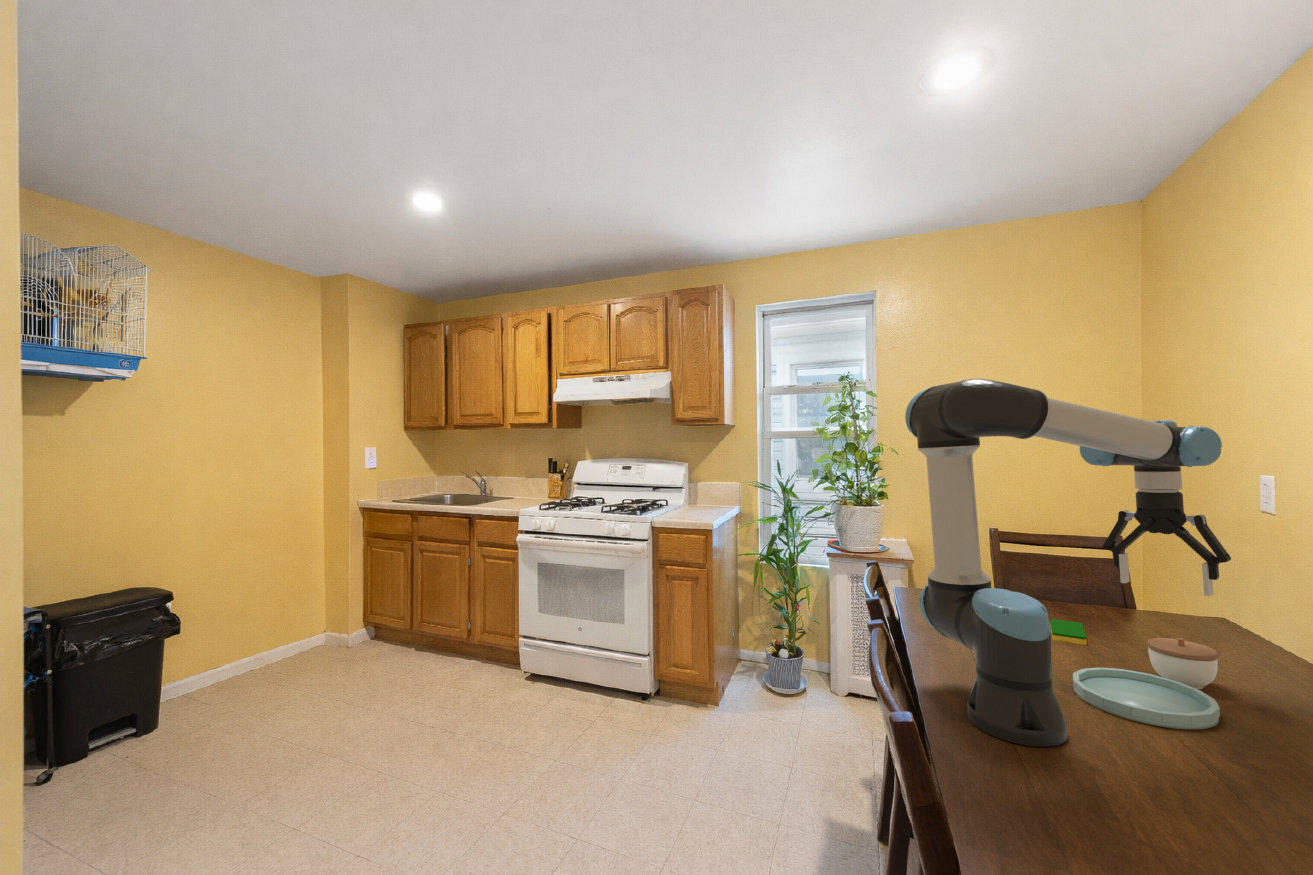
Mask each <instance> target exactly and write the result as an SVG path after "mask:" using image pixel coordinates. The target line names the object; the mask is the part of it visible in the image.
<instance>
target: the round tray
mask: <svg viewBox="0 0 1313 875" xmlns="http://www.w3.org/2000/svg"><path fill="white" fill-rule="evenodd" d="M1072 687H1073V692H1074V693H1075V694H1076V695H1077V697H1078V698H1080V699H1081V700H1083V701H1084V702H1085V703H1087V704H1089V705H1091V706H1093V707H1094V708H1097V709H1099V710H1101V711H1104V712H1106V713H1109V714H1110V715H1114V716H1117V717H1119V718H1123V719H1127V720H1130V721H1134V722H1138V723H1142V724H1146V725H1150V726H1151V725H1152V726H1155V727H1162V728H1167V729H1177V730H1190V731H1191V730H1205V729H1210V728H1214V727H1216V726H1217V725H1218V724H1219V723H1220V717H1221V709H1220V706H1219V704H1218V703H1217V701H1216V699H1215V698H1213V697H1211V696H1210V695H1208V694H1206V693H1205V692H1203V691H1202V690H1201V689H1195V688H1193V687H1190V686H1188V685H1185V684H1182V683H1180V682H1177V681H1174V680H1170V679H1167V678H1163V677H1161V676H1160V675H1156V674H1152V673H1148V672H1147V673H1146V672H1142V671H1140V672H1139V671H1136V670H1131V669H1124V668H1114V667H1112V668H1111V667H1109V668H1108V667H1089V668H1081V669H1079V670H1076V671H1074V672H1073V673H1072Z"/></svg>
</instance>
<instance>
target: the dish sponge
mask: <svg viewBox="0 0 1313 875" xmlns="http://www.w3.org/2000/svg"><path fill="white" fill-rule="evenodd" d="M1049 624H1050V627H1051V641H1056V642H1063V643H1070V644H1077V645H1084V646H1086V645H1087V644H1088V643H1087V635H1086V631H1085V628H1084V625H1083V623H1082V622H1077V621H1069V620H1062V619H1055V618H1051V619H1050V621H1049Z"/></svg>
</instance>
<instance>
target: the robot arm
mask: <svg viewBox="0 0 1313 875" xmlns="http://www.w3.org/2000/svg"><path fill="white" fill-rule="evenodd" d="M904 415H905V416H904V419H905V424H906V427H907V430H908V431H909V432H910V433H911V434H912V435H913V437H914V438H916V440H917V450H918V451H919V452H920V453H921V454H923V455H924V456H925V457H926V467H927V481H928V496H929V507H930V519H931V520H930V521H931V522H930V523H931V533H932V534H931V535H932V543H933V544H932V546H933V548H932V549H933V560H934V561H933V562H934V568H932V570H930V572H928V573H927V582H926V584H925V585H924V588H923V589H921V591H920V593H919V598H918V599H919V603H918V605H919V609H920V613H921V615H922V617H923V618H924V621H925V622H926V623H927V624H928V625H929V627H931V628H932V629H934V630H935V631H936V632H937V633H939V634H940V635H942V636H944V637H945V638H948V639H950V640H953V641H954V642H957V644H960V645H962V646H964V647H966V648H968V649H970V650H972V651H974V652H975V654H974V655H975V670H976V671H975V672H976V673H975V675H976V676H975V679H974V682H973V685H972V688H971V691H970V693H969V696H968V700H967V703H966V704H967V705H966V707H967V708H966V709H967V710H966V711H967V718H968V720H969V721H970V723H971V724H972V725H974V726H975V727H976V728H977V729H979V730H980V731H981V732H984V733H986V734H988V735H990V736H993V737H994V738H998V739H999V740H1003V741H1006V742H1009V743H1014V744H1016V745H1023V746H1030V747H1038V748H1039V747H1040V748H1046V747H1047V748H1049V747H1050V748H1051V747H1057V746H1060V745H1062V744H1064V743H1066V741H1067V740H1068V725H1067V721H1066V718H1065V717H1064V714H1063V712H1062V710H1061V706H1060V704H1059V701H1058V699H1057V697H1056V694H1055V691H1054V689H1053V670H1052V669H1053V667H1052V664H1053V663H1052V634H1051V624H1050V621H1049V613H1048V610H1047V608H1046V607H1045V604H1043V603H1041V601H1039V600H1038V599H1036V598H1034V597H1032V596H1030V595H1027V594H1026V593H1022V592H1018V591H1011V590H1009V589H1004V588H996V587H995V588H992V579H991V576H989V575H988V574H987V573H986V571H983V570H982V561H981V548H980V546H981V545H980V535H979V525H978V524H979V523H978V521H979V520H978V512H977V510H978V509H977V499H976V487H975V486H976V485H975V484H976V483H975V475H974V474H975V473H974V462H973V461H974V460H973V456H974V453H976V451H977V450H978V449H979V448H980V447H981V442H980V439H981V438H984V437H985V438H987V437H990V438H991V437H1007V438H1008V437H1010V438H1015V439H1020V440H1027V439H1031V438H1033V437H1036V438H1040V439H1046V440H1050V441H1051V440H1052V441H1056V442H1060V443H1064V444H1070V445H1075V446H1079V454H1080V456H1081V458H1082V459H1083V461H1084V462H1086V463H1087V464H1088V465H1092V466H1102V467H1108V466H1133V472H1134V473H1133V475H1134V487H1135V489H1136V490H1137V491H1136V492H1135V504H1136V507H1135V508H1136V511H1135V512H1133V511H1129V510H1120V511H1119V512H1117V513H1118V515H1117V516H1118V517H1117V521H1116V523H1115V525H1114V526H1113V528H1112V530H1111V531H1110V533H1109V535H1108V536H1107V538H1106V540H1105V542H1104V544H1103V545H1102V548H1103V549H1104V550H1108V551H1110V552H1112V553H1113V554H1112V555H1113V563H1114V567H1115V568H1119V577H1120V578H1119V579H1120V582H1119V583H1121V584H1127V583H1129V582H1130V581H1131V580H1130V573H1129V572H1130V569H1129V568H1130V567H1129V553H1128V552H1125V550H1126V549H1128V548H1129V547H1130V546H1131V545H1132V544H1133V543H1134V542H1135V541H1137V540H1138V539H1139V538H1141V536H1142V535H1144V534H1145V533H1146V532H1149V533H1150V534H1159V533H1160V534H1163V535H1172V534H1175V536H1176V537H1178V538H1179V539H1180V540H1182V541H1183V542H1184V543H1185V544H1186V545H1187V546H1189V548H1191V549H1192V550H1193V551H1194V552H1195V553H1196V554H1198V555H1199V557H1201V558H1202V559H1203V560H1204V561H1205V562H1202V564H1201V571H1202V584H1203V586H1202V587H1203V596H1205V597H1211V596H1212V595H1214V582H1213V581H1217V580H1218V579H1219V578H1220V569H1219V564H1222V563H1227V562H1230V561H1231V560H1232V557H1231V555H1230V554H1229V553H1228V551H1227V550H1226V549H1225V547H1224V546H1223V545H1222V543H1221V541H1220V540H1219V539H1218V538H1217V536H1216V535H1215V534H1214V532H1213V530H1212V529H1210V527H1209V526H1208V522H1207V518H1206V515H1204V514H1196V515H1186V514H1185V510H1184V509H1185V508H1184V507H1185V506H1184V494H1183V493H1182V492H1181V490H1182V489H1183V479H1182V478H1183V477H1182V468H1181V467H1187V468H1192V467H1205V466H1206V467H1207V466H1210V465H1212V464H1213V463H1215V462H1216V461H1217V460H1219V458H1220V456H1221V453H1222V447H1223V443H1222V439H1221V437H1220V435H1219V434H1218V433H1217V432H1216V431H1215V430H1214V429H1212V428H1210V427H1207V426H1195V425H1188V426H1178V424H1177V422H1176V421H1175V420H1171V419H1169V420H1167V419H1165V420H1164V419H1163V420H1146V419H1143V418H1139V417H1135V416H1134V417H1133V416H1130V415H1129V416H1128V415H1125V414H1120V413H1115V412H1112V411H1109V410H1108V411H1107V410H1103V409H1098V408H1094V407H1089V406H1084V405H1080V404H1076V403H1071V402H1067V401H1064V400H1063V401H1062V400H1059V399H1053V398H1050V397H1048V396H1047V395H1046V393H1044V392H1043V391H1041V390H1039V389H1034V388H1030V387H1027V386H1026V387H1025V386H1021V385H1017V384H1012V383H1009V382H1005V381H1004V382H1003V381H1000V380H999V381H998V380H994V379H993V380H992V379H986V378H969V379H968V378H967V379H963V380H960V381H955V382H950V383H945V384H939V385H934V386H931V387H928V388H927V389H923V390H922V391H919V392H917V394H915V395H914V396H913V397H912V398H911V399H910V401H909V403H908V405H907V406H906V409H905V414H904ZM1179 490H1180V491H1179ZM1133 518H1134V519H1135V520H1136V522H1138V523H1139V525H1137V527H1136V528H1135V529H1134V530H1132V531H1131V532H1130V533H1129V534H1128V535H1127V536H1126V537H1125V538H1124V539H1122V540H1121V541H1120V542H1119V543H1117V542H1118V540H1119V538H1120V536H1121V535H1122V533H1123V532H1124V530H1125V529H1126V526H1127V525H1128V523H1129V521H1130V522H1131V521H1132V520H1133ZM1187 522H1189V523H1190V524H1191V525H1192V526H1195V527H1196V530H1197V531H1198V533H1199V534H1200V535H1201V537H1202V539H1204V541H1205V542H1206V544H1207V545H1208V547H1209V548H1210V549H1211V550H1209V549H1208V548H1207V547H1205V546H1204V544H1202V542H1200V541H1199V540H1198V539H1197V538H1196V537H1194V536H1193V535H1192V534H1191V533H1190V531H1189V530H1188V529H1187V528H1185V527H1184V525H1185V524H1186V523H1187ZM1116 544H1117V545H1116ZM1211 551H1212V552H1211Z"/></svg>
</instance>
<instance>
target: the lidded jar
mask: <svg viewBox="0 0 1313 875" xmlns="http://www.w3.org/2000/svg"><path fill="white" fill-rule="evenodd" d="M1146 645H1147V651H1148V652H1147V653H1148V657H1149V660H1150V665H1151V666H1152V668H1153V669H1154V671H1155V672H1156V673H1157V674H1158V676H1159V677H1163V678H1167V679H1170V680H1174V681H1177V682H1180V683H1182V684H1185V685H1188V686H1190V687H1193V688H1195V689H1198V690H1203V689H1204V688H1205V687H1207V686H1208V685H1209V684H1211V683H1212V682H1213V681H1214V680H1215V679H1216V676H1217V674H1218V667H1219V666H1218V665H1219V663H1218V658H1219V654H1218V653H1219V652H1218V651H1217V650H1216V649H1214V648H1212V647H1209V646H1208V645H1205V644H1200V643H1198V642H1193V641H1188V640H1185V638H1182V637H1177V638H1170V637H1169V638H1167V637H1154V638H1153V637H1152V638H1149V639H1148V640H1147V641H1146Z"/></svg>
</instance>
